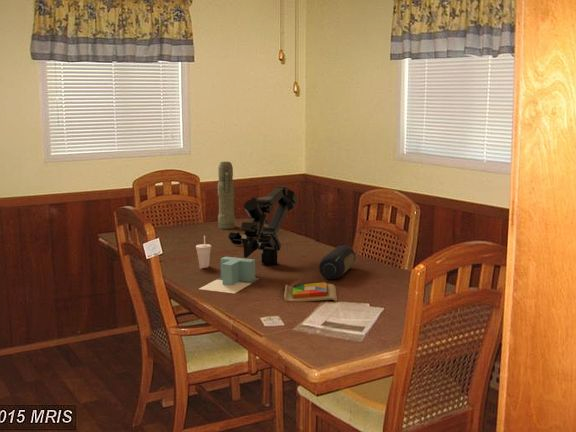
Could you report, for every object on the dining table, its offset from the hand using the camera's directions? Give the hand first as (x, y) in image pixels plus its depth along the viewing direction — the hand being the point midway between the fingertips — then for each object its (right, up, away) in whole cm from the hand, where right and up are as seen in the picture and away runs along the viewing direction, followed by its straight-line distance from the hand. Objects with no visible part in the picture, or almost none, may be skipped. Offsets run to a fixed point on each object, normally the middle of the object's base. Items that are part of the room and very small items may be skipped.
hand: (245, 257), depth 286 cm
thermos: (-16, +10, +98) cm, 100 cm away
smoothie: (-18, -6, +15) cm, 24 cm away
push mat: (-5, -10, -10) cm, 15 cm away
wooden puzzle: (+25, -13, -22) cm, 36 cm away
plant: (+1, +3, +62) cm, 62 cm away
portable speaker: (+37, -7, +6) cm, 38 cm away
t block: (-4, -9, -8) cm, 12 cm away
